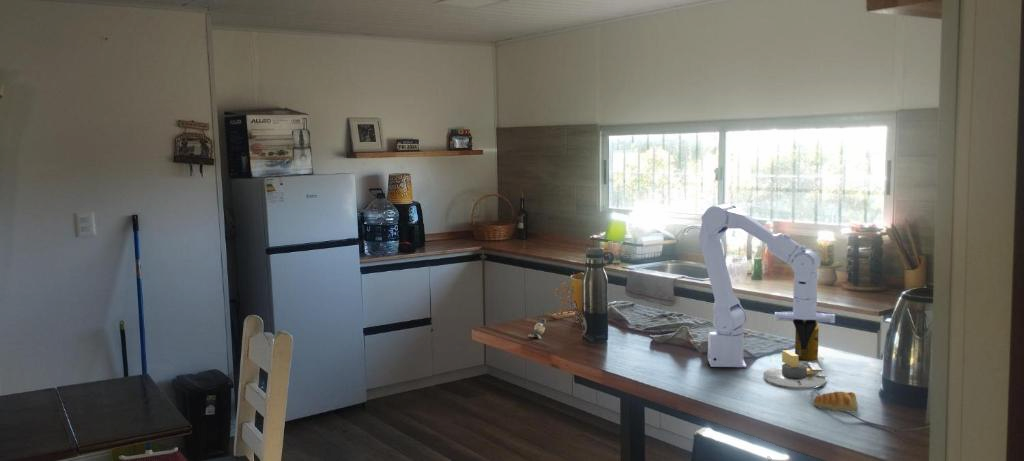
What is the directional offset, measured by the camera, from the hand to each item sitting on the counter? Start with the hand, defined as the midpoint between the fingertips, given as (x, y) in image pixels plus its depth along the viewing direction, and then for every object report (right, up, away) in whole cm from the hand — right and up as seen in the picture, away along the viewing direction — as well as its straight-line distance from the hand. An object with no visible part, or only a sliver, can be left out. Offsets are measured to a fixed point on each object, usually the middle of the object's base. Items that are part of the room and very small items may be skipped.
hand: (803, 348), depth 203 cm
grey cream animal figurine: (-67, -3, +46) cm, 81 cm away
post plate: (-3, -8, -2) cm, 9 cm away
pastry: (0, -11, -22) cm, 25 cm away
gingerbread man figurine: (-57, 0, +72) cm, 92 cm away
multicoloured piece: (-2, -6, -1) cm, 6 cm away
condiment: (+6, -5, +16) cm, 18 cm away
